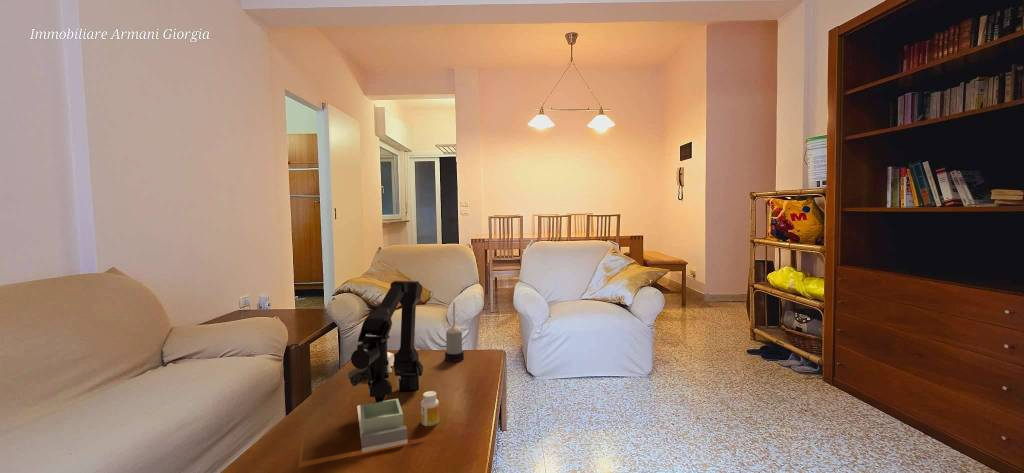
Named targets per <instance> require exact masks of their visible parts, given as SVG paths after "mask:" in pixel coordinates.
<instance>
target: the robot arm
mask: <svg viewBox="0 0 1024 473" xmlns="http://www.w3.org/2000/svg"><path fill="white" fill-rule="evenodd" d="M422 293H423V285H422V284H421V283H420V282H419V281H416V280H414V281H413V280H394V281H392V282H391V283H390V287H389V289H388V291H387V292H386V294H385V295H384V298H383V299H382V301H381V303H380V304H379V306H378V307H377V308H376V309H375V310H372V311H371V312H370V313H369V314H368V315H367V316H366V317H365V319H364V321H363V322H362V326H361V328H360V332H359V335H358V338H357V343H359V344H357V345H356V349H355V350H354V351H353V352H352V354H351V356H350V361H351V364H352V365H353V367H354V369H352V370H350V371H349V372H348V374H347V376H348V379H349V381H350V384H351V386H352V387H355V386H358V384H361V383H363V382H365V381H367V386H368V388H367V389H368V393H369V394H368V395H369V398H374V400H375V402H380V401H385V397H386V396H388V395H391V394H393V386H392V384H391V381H389V380H388V379H389V376H390V373H389V372H388V355H387V352H388V340H389V339H390V337H391V336H390V335H389V334H390V331H391V329H392V326H393V321H392V317H393V315H394V313H395V312H396V310H397V307H398V306H399V304H400V305H401V321H400V324H401V325H400V341H399V342H400V343H399V344H400V345H399V349H398V351H397V352H395V353H394V364H393V371H394V375H395V377H399V378H398V379H397V383H398V384H397V386H398V387H397V390H398V392H399V393H413V392H415V391H417V390H420V382H419V381H420V377H421V376H422V377H423V372H424V366H423V365H422V363H421V361H420V360H419V358H420V357H419V353H418V351H417V348H415V336H416V334H415V333H416V330H415V329H416V312H417V311H416V308H417V305H418V303H419V301H420V300H421V298H422Z"/></svg>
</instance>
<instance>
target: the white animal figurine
mask: <svg viewBox="0 0 1024 473" xmlns="http://www.w3.org/2000/svg"><path fill="white" fill-rule="evenodd" d="M387 355H388V374H390V373H391V374H392V372H393V370H392V368H391V367H392V366H393V364H394V355H395V353H392V352H389V351H387Z"/></svg>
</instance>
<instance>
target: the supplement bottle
mask: <svg viewBox="0 0 1024 473" xmlns="http://www.w3.org/2000/svg"><path fill="white" fill-rule="evenodd" d="M420 423H421V425H422V426H424V427H433V426H437V425H438V424H439V423H440V402H439V399H437V392H436V391H434V390H428V391H426V392H424V393H423V394H422V400H421V402H420Z"/></svg>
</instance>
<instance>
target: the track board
mask: <svg viewBox="0 0 1024 473" xmlns="http://www.w3.org/2000/svg"><path fill="white" fill-rule="evenodd" d="M360 405H361V404H359V405H357V406H356V410H357V415H358V416H357V417H358V427H359V436H360V444H361V453H362V454H363V453H368V452H372V451H377V450H381V449H387V448H391V447H396V446H402V445H406V444H408V428H407V425H403V426H400V427H395V428H390V429H384V430H379V431H374V432H368V433H363V432H362V424H361V410H360Z"/></svg>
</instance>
